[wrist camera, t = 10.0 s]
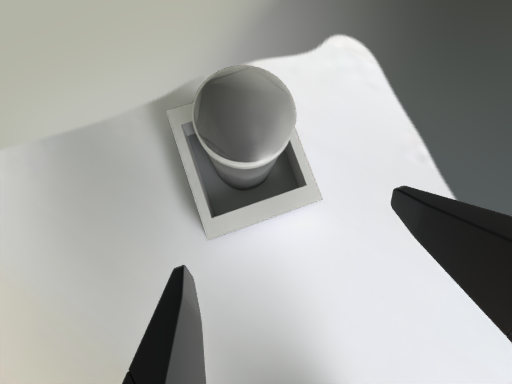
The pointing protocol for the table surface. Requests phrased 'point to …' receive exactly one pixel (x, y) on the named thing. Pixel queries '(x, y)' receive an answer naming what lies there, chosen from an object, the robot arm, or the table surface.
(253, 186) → the gray cylindrical canister
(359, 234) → the table surface
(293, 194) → the white open box
